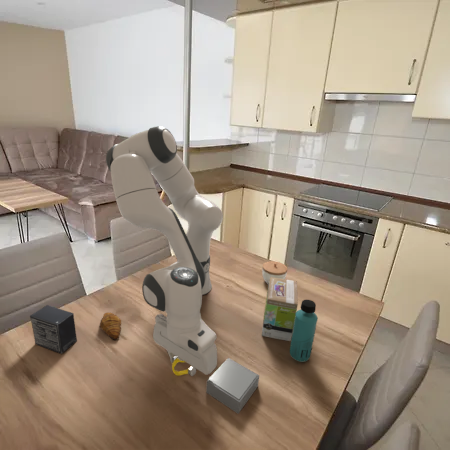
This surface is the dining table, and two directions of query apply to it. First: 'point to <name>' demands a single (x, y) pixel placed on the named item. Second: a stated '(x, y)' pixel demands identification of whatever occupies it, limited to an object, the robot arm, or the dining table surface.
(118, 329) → the croissant
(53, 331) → the small box
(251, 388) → the base
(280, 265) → the lidded jar
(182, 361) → the yellow ring-shaped piece
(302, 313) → the beverage bottle
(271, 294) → the tea box
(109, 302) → the dining table surface
